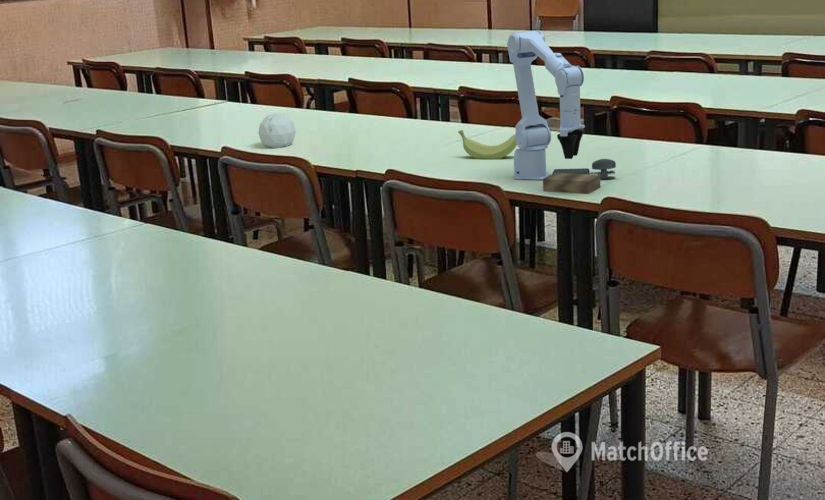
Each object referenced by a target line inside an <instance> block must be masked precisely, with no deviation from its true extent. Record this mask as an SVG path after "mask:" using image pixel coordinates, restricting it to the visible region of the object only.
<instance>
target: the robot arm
mask: <svg viewBox="0 0 825 500" xmlns="http://www.w3.org/2000/svg"><path fill="white" fill-rule="evenodd" d="M506 46H507V52H508V56H509V62H511V63H512V65H513V70H514V77H515V83H516V88H517V95H518V101H519V107H520V112H521V114H520V115H521V119H520V120H519V121H518V122H517V123H516V124H515V126H514V127H515V128H514V129H515V134H516V135H515V140H516V144H517V146H516V147H518V148H516V149H514V150H515V151H514V154H513V173H514V176H513V179H514V180H533V181H534V180H537V181H539V180H540V181H543V178H546V177H548V176H550V175H551V172H547V161H546V160H547V156H546V155H547V153H546V152H547V151H546V149H548V147H549V145H550V144H551V141H552V132H551V129H550V128H549V125H548V120H547V119H545V118H544V117H542V116H540V114H539V107H538V102H537V95H536V91H535V84H534V78H533V77H534V76H533V71H532V67H531V66H532V62H533V61H534V60H536V59H537V58H538V57H539V58H540V60H542V61H543V62H544V67H545V70H547V71H548V73H549V74H551V75H552V76H553V78H554V83H555V84H556V87H557V93H558V95H559V110H560V111H559V117H560V118H559V119H560V122H559V123H560V125H559V133H558V134H557V135H556V137H557V140H558V141H559V143H560V145H561V148H562V152H563V156H564V159H565V160H572V159H574V157H576V156H578V154H579V151H580V150H579V148H580V143H581V141H582V138H583V135H584V133H585V130H584V128H586V127H585V126H586V125H585V124H582V121H581V86H583V84H584V81H585V74H584V71H583V69H582V68H581V66H580V65H572V64H571V63H570V62H569V61H568V60H567V59H566V58H565V57H564V56H563V54H562V53H560V52H553V50H552V49H551V48H550V47H549V45H548V44H547V43H546V37H545V35H544V34H543V32H542V31H541V30H538V29H537V30H533V31H524V32H512V33H510V35H509V36H508V40H507V42H506Z"/></svg>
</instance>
